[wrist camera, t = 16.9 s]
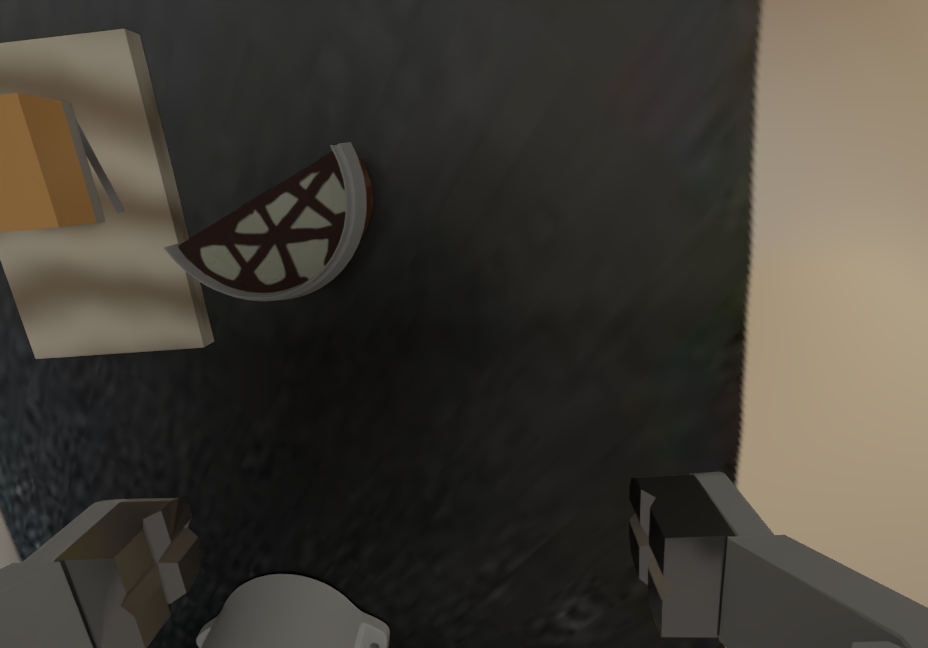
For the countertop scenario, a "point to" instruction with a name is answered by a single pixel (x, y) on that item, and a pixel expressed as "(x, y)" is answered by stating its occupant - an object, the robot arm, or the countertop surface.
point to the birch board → (104, 210)
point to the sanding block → (43, 166)
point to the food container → (286, 233)
